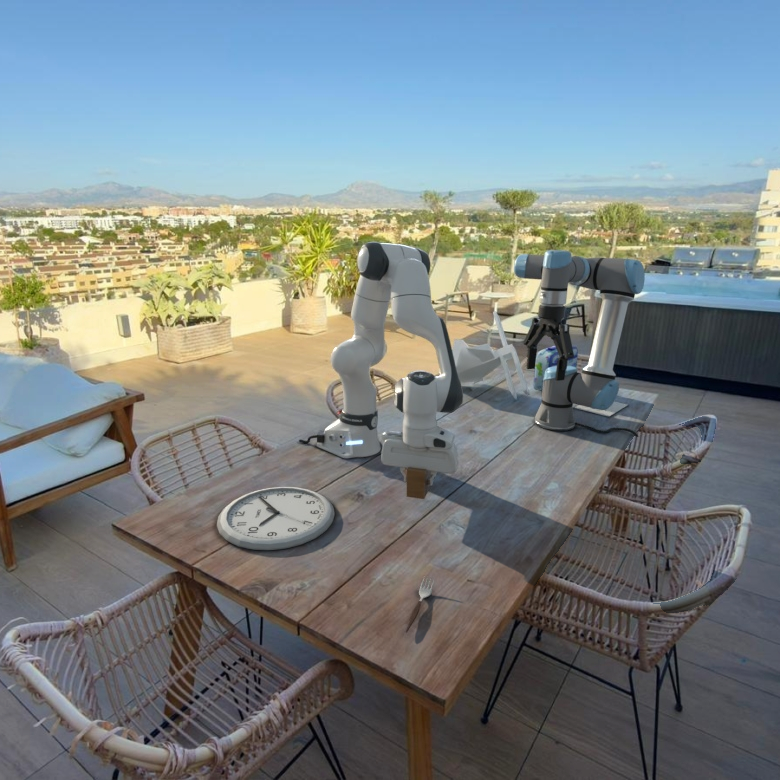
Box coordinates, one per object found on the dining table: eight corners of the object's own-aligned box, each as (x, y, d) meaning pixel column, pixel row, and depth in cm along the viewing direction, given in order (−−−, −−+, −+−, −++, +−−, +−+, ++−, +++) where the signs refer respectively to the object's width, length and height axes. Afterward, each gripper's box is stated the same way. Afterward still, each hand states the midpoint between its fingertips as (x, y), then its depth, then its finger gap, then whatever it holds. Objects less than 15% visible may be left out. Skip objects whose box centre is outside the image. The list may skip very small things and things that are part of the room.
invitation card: (608, 416, 214) (573, 407, 224) (608, 416, 214) (573, 408, 224) (628, 404, 229) (594, 396, 238) (628, 405, 229) (594, 397, 238)
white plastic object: (461, 429, 252) (437, 405, 227) (444, 352, 274) (420, 323, 250) (535, 404, 240) (518, 377, 215) (510, 326, 262) (492, 293, 237)
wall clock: (333, 542, 123) (202, 546, 121) (333, 547, 124) (203, 552, 121) (335, 482, 152) (229, 485, 149) (335, 487, 152) (230, 490, 150)
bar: (428, 457, 161) (428, 434, 158) (443, 459, 159) (444, 435, 157) (406, 496, 137) (406, 469, 135) (424, 499, 136) (424, 472, 134)
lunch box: (550, 397, 237) (555, 352, 231) (529, 391, 245) (533, 348, 238) (577, 386, 255) (582, 344, 249) (556, 381, 262) (561, 340, 256)
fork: (399, 632, 98) (399, 624, 98) (423, 581, 112) (424, 573, 112) (412, 636, 97) (413, 627, 97) (435, 584, 112) (435, 576, 111)
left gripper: (377, 434, 135) (377, 482, 139) (456, 443, 129) (454, 493, 133) (384, 426, 141) (384, 472, 145) (460, 434, 135) (458, 482, 139)
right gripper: (516, 299, 163) (510, 365, 170) (571, 311, 141) (562, 386, 148) (535, 298, 166) (529, 363, 172) (593, 310, 144) (583, 384, 151)
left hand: (418, 482), depth 139 cm, fingers closed on bar, 5 cm apart
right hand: (544, 374), depth 160 cm, fingers open, 13 cm apart
